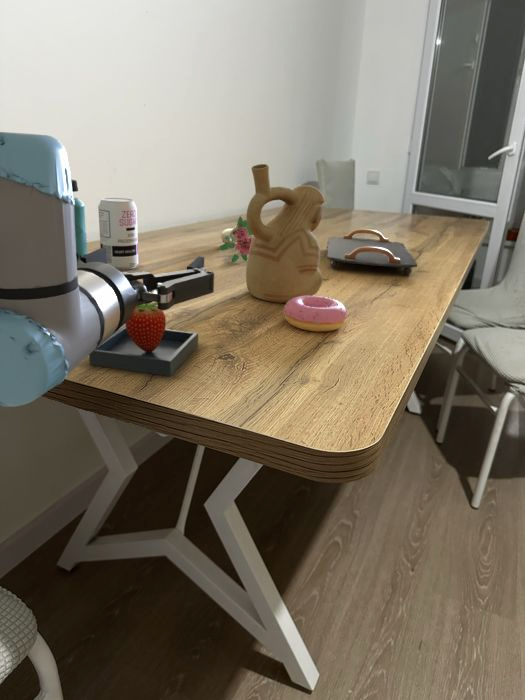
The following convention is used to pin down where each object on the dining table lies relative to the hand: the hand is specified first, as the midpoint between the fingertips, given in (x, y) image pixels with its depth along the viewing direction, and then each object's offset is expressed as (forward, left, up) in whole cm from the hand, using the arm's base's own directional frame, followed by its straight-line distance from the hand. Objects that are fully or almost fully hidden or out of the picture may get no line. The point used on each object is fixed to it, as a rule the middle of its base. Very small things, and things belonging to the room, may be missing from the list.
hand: (152, 262), depth 71 cm
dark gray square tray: (0, -3, -12) cm, 13 cm away
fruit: (0, -3, -12) cm, 12 cm away
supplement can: (-27, +44, -13) cm, 53 cm away
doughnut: (+21, +19, -13) cm, 31 cm away
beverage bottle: (-29, +27, -13) cm, 41 cm away
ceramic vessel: (+12, +35, -13) cm, 39 cm away
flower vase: (-5, +68, -13) cm, 70 cm away
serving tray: (+29, +82, -13) cm, 88 cm away
